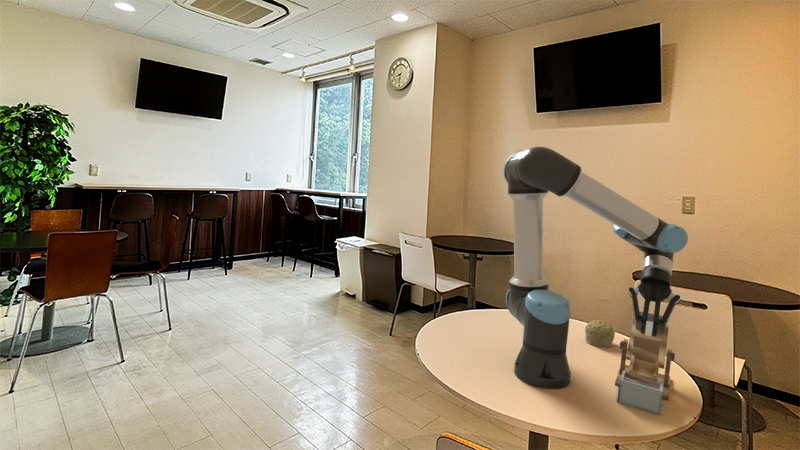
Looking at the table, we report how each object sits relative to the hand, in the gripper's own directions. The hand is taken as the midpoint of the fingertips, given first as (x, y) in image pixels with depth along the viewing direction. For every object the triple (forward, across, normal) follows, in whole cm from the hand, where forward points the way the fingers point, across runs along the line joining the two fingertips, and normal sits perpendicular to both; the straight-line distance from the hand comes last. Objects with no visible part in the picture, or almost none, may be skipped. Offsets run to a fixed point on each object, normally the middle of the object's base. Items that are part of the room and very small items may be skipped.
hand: (647, 344), depth 109 cm
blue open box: (+15, 0, -2) cm, 15 cm away
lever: (-2, 0, -6) cm, 6 cm away
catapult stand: (+6, 0, -12) cm, 13 cm away
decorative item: (-10, +15, -29) cm, 34 cm away
